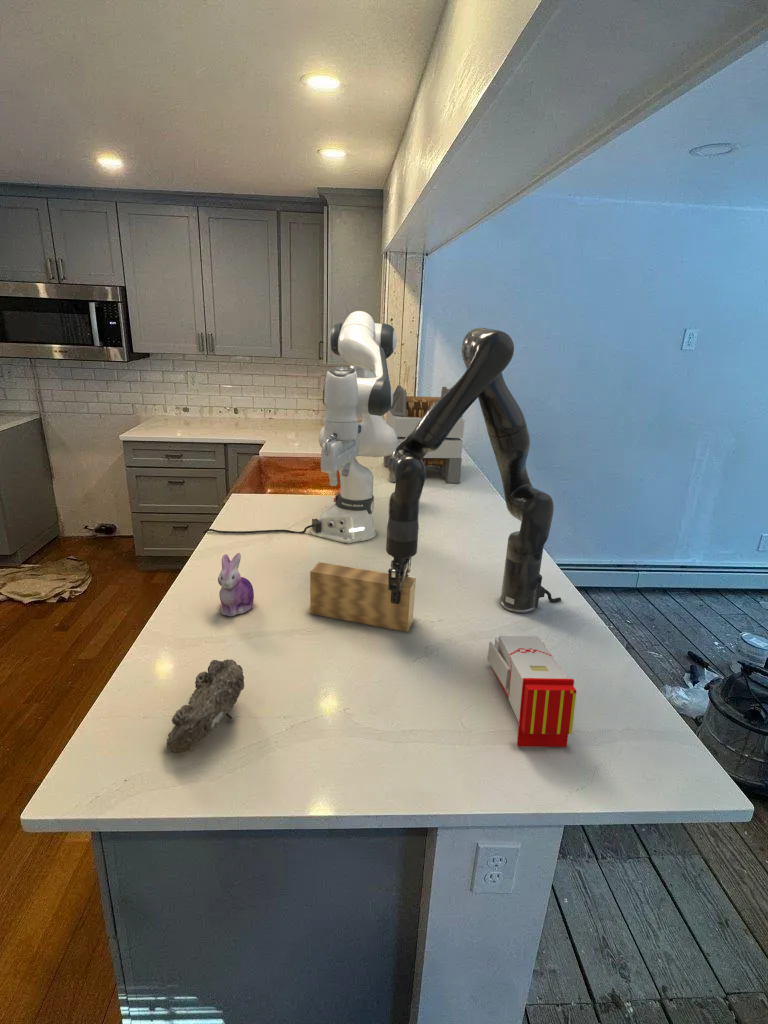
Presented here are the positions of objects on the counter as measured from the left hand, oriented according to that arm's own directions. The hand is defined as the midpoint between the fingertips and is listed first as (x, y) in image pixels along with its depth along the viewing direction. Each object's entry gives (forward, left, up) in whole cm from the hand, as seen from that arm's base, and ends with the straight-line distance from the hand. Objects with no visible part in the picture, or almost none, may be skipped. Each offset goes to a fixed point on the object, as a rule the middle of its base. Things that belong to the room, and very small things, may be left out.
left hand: (339, 480), depth 154 cm
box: (+13, -18, -30) cm, 37 cm away
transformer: (-3, +121, -30) cm, 124 cm away
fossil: (-2, -63, -30) cm, 70 cm away
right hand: (+22, -18, -22) cm, 36 cm away
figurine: (-19, -25, -30) cm, 43 cm away
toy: (+54, -38, -30) cm, 73 cm away
